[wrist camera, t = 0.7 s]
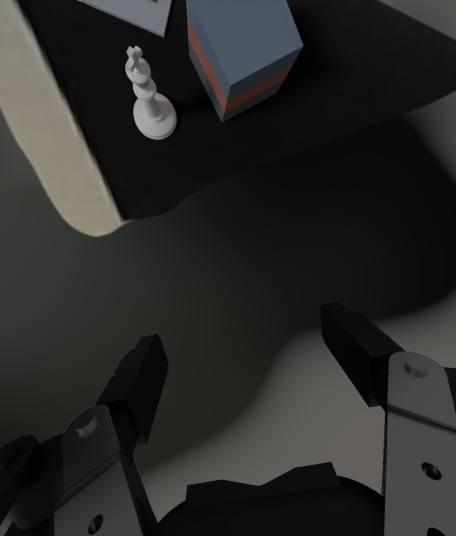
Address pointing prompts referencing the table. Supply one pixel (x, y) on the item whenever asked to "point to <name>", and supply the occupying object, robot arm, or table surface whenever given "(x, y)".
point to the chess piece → (149, 99)
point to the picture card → (137, 12)
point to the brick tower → (241, 50)
